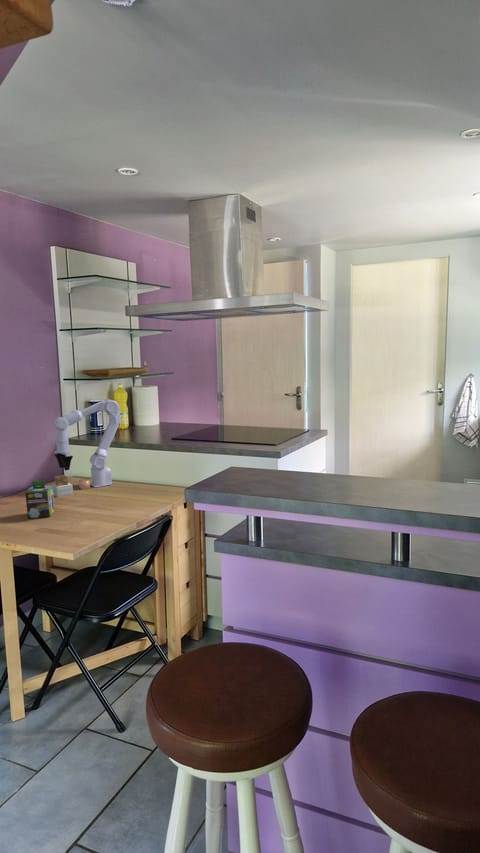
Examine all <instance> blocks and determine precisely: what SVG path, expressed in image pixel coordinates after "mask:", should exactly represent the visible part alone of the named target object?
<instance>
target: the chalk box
mask: <svg viewBox="0 0 480 853" xmlns="http://www.w3.org/2000/svg"><path fill="white" fill-rule="evenodd" d="M31 483H32V486H31V487H29V488H28V489H26V491H25V492H24V494H25V495H24V496H25V503H26V511H27V519H38V518H39V519H41V518H51V516H52V515H53V514H54V513H55V511H56V506H55V505H56V504H55V496H54V494H53V484H50V485H49V484H47V485H45V481H44V480H32V481H31ZM37 484H40V485H37Z"/></svg>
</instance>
